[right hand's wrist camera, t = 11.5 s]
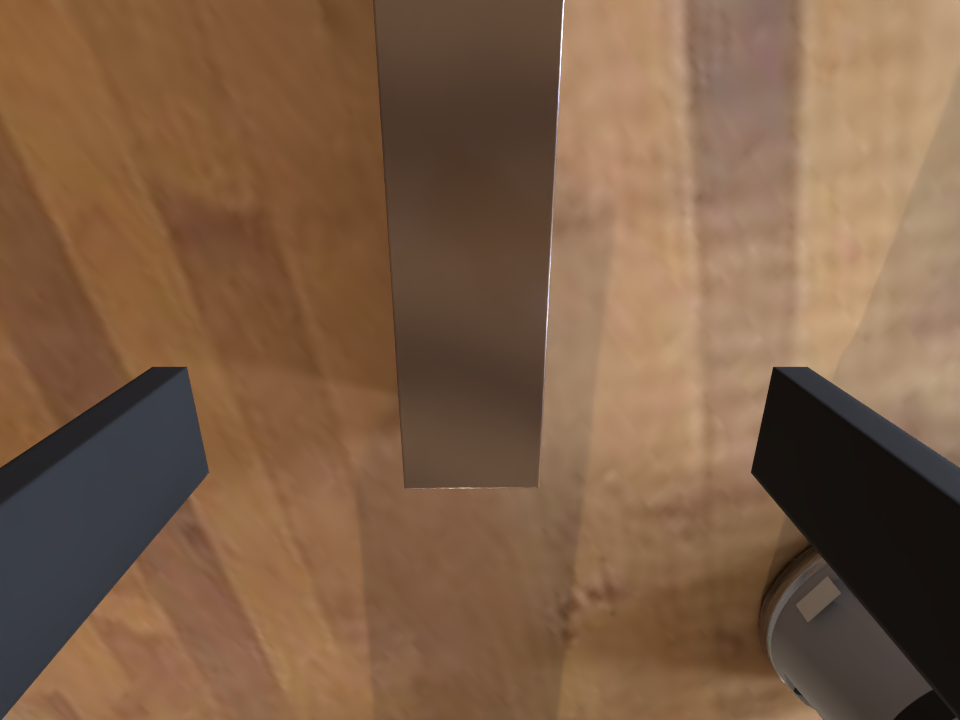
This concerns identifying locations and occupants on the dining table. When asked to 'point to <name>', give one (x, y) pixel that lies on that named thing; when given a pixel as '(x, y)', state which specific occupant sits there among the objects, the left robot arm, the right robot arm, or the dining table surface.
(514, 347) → the board
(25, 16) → the dining table surface
